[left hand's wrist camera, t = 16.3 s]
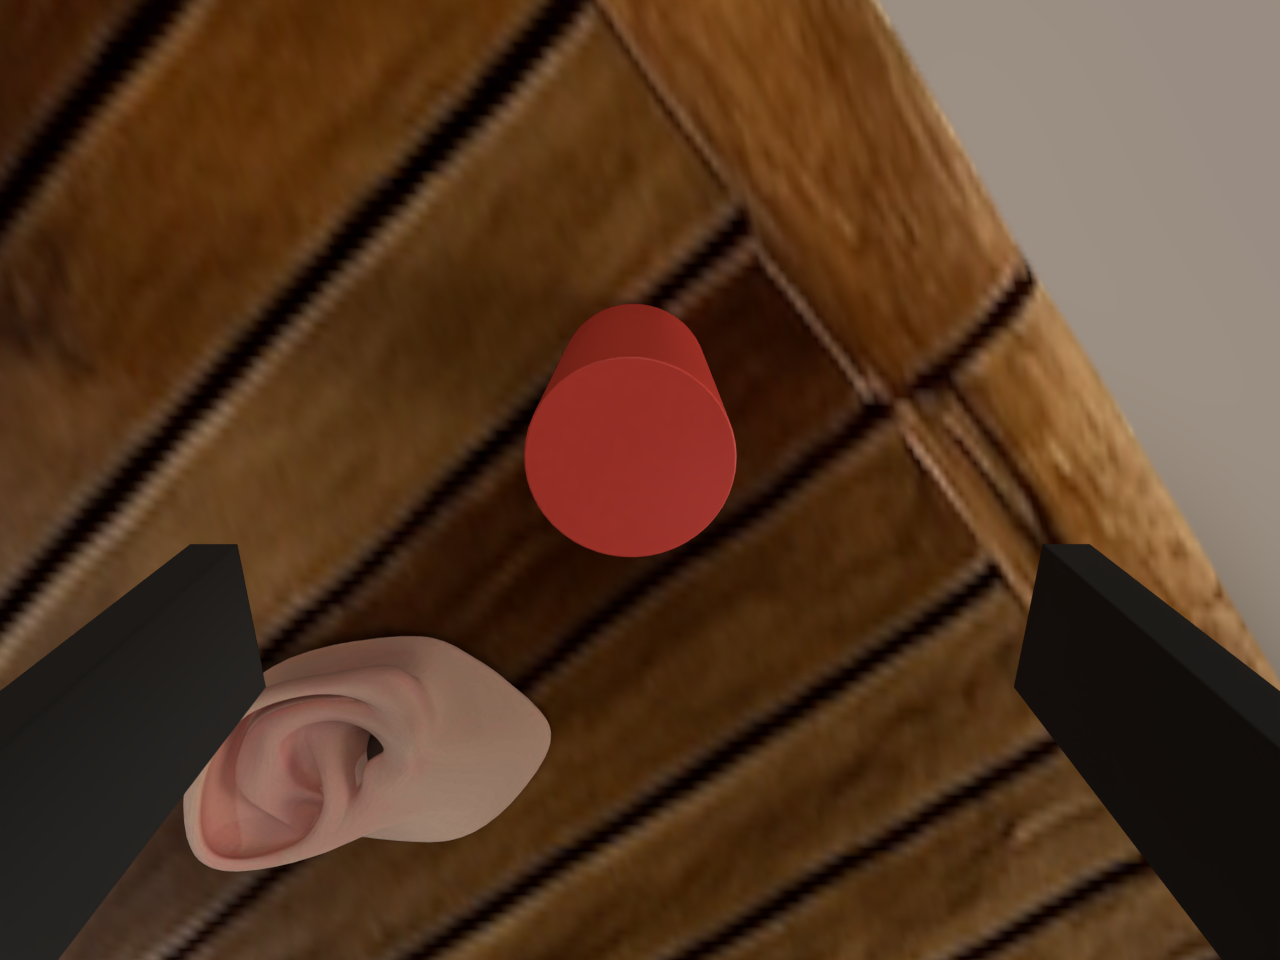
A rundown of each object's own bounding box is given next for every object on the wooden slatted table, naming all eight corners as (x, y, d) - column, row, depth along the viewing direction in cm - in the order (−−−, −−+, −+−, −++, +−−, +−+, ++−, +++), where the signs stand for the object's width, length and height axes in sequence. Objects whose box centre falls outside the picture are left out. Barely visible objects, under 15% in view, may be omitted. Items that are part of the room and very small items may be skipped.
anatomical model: (566, 742, 28) (483, 955, 32) (574, 677, 32) (499, 875, 36) (199, 638, 26) (158, 874, 30) (253, 582, 30) (211, 800, 34)
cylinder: (669, 277, 26) (683, 318, 18) (729, 411, 28) (769, 508, 19) (534, 343, 27) (485, 413, 18) (600, 469, 29) (583, 587, 20)
